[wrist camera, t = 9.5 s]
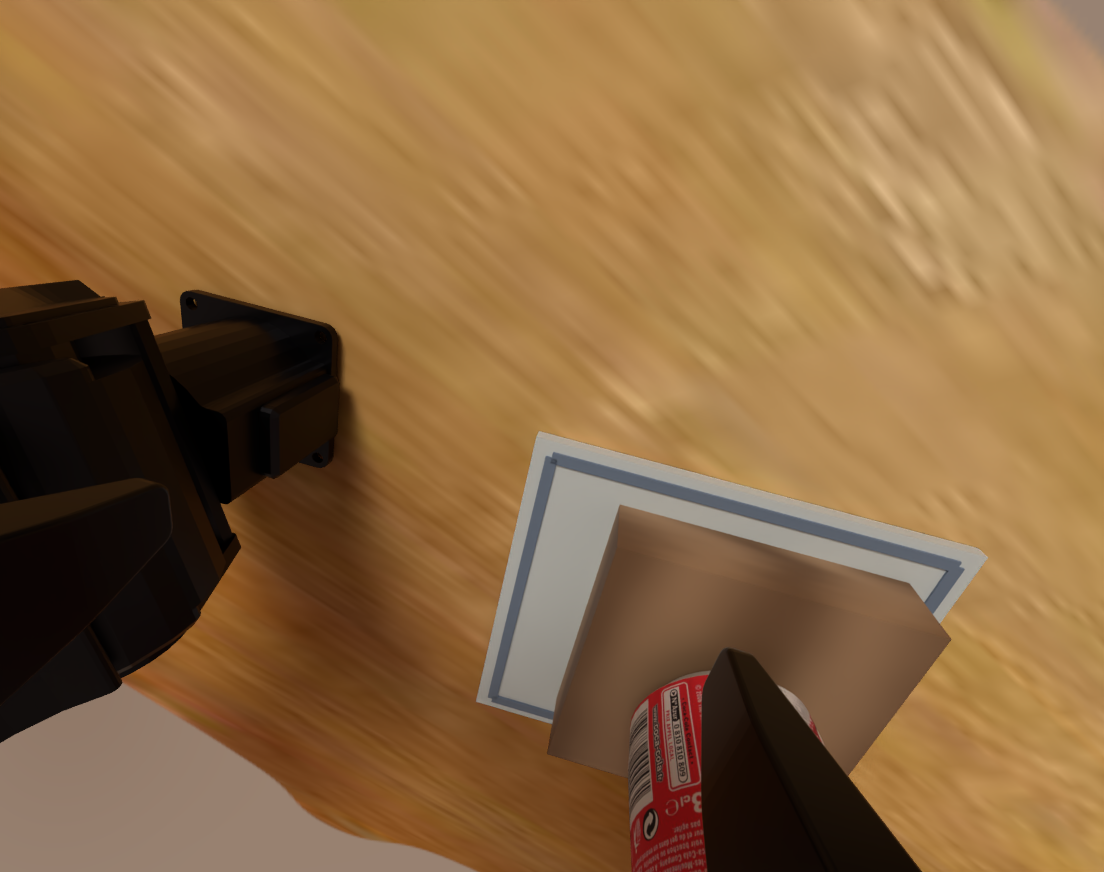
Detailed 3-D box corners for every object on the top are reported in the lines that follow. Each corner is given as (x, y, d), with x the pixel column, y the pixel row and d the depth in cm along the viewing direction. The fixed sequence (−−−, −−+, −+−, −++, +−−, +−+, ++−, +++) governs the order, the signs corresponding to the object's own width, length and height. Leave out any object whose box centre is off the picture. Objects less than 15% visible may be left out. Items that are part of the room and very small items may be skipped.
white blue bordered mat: (479, 692, 28) (475, 703, 27) (539, 431, 21) (535, 437, 20) (806, 788, 27) (810, 802, 26) (978, 548, 20) (989, 559, 19)
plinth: (556, 697, 26) (547, 754, 23) (619, 504, 21) (617, 547, 18) (787, 765, 25) (805, 831, 23) (909, 583, 20) (951, 639, 18)
